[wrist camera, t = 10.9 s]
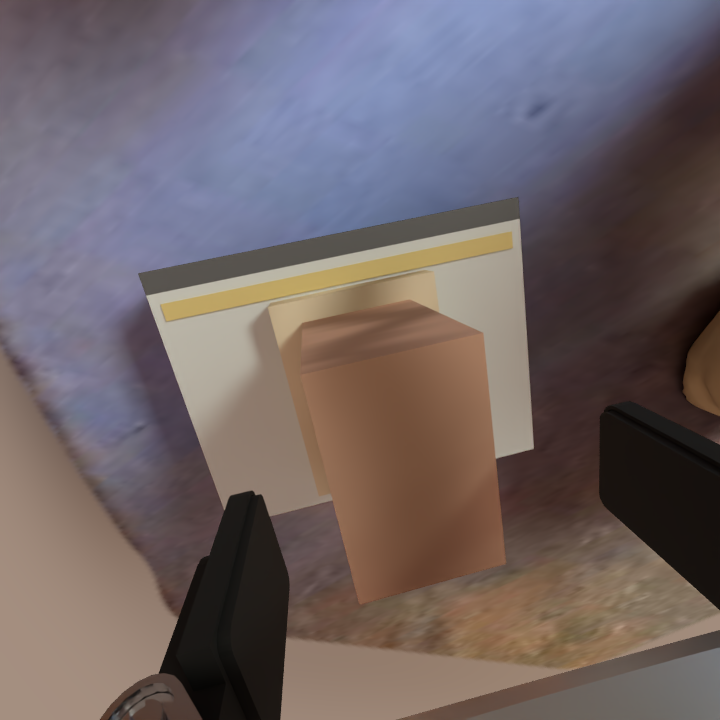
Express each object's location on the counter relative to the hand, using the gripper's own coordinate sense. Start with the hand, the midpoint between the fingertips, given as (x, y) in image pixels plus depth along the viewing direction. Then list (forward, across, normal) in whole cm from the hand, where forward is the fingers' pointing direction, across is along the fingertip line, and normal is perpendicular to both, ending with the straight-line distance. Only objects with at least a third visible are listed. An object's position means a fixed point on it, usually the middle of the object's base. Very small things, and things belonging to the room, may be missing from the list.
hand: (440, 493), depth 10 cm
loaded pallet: (+10, +1, 0) cm, 10 cm away
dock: (+15, +1, 0) cm, 15 cm away
